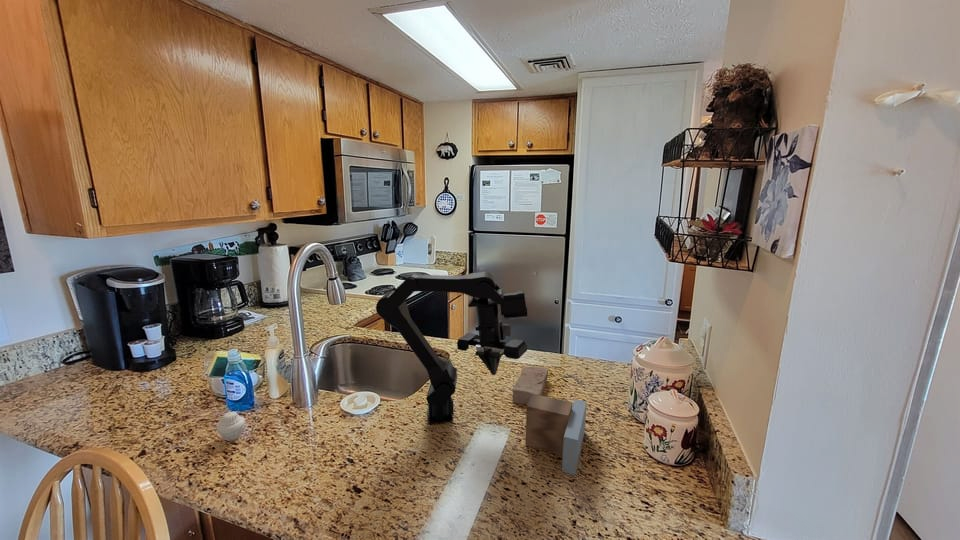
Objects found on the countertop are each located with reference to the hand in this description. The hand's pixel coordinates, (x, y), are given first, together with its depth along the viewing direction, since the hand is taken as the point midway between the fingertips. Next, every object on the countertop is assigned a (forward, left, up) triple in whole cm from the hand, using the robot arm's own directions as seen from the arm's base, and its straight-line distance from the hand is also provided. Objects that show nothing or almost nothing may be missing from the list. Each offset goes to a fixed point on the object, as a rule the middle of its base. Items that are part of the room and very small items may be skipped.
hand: (494, 374), depth 102 cm
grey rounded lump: (-68, +7, -13) cm, 69 cm away
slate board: (+16, -17, -13) cm, 27 cm away
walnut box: (+10, -13, -13) cm, 22 cm away
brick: (+15, +11, -14) cm, 23 cm away
